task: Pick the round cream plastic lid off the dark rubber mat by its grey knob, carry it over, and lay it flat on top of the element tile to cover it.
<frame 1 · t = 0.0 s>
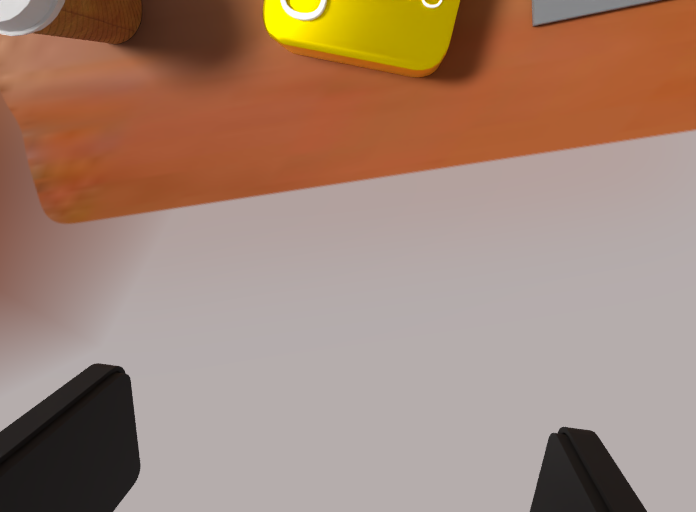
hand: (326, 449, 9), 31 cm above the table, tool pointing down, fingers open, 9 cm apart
disposable coffee cup: (111, 6, 37), on the table
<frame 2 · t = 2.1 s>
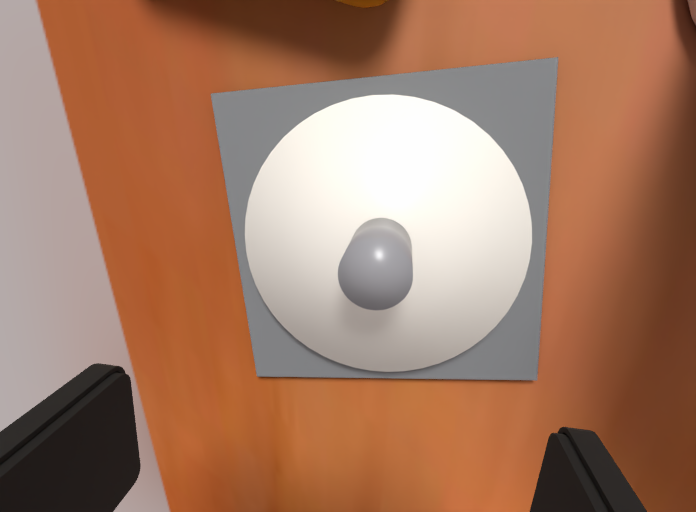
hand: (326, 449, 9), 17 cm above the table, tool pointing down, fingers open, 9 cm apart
mat: (382, 241, 25), on the table
lid: (378, 257, 22), on the mat
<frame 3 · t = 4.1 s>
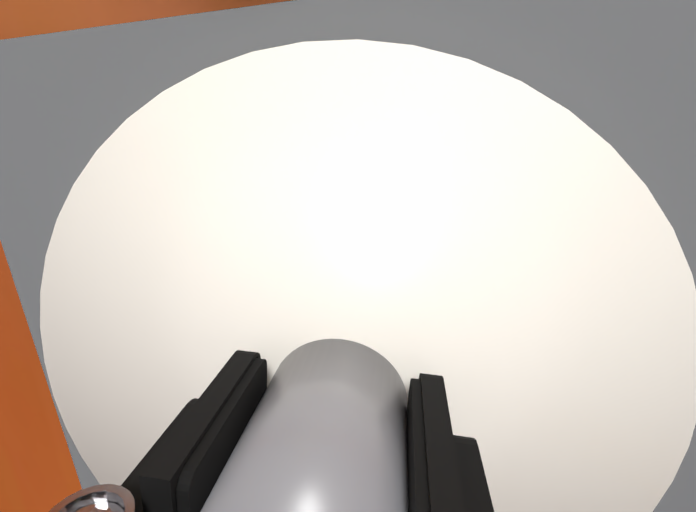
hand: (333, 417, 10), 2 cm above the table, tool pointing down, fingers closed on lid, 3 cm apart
mat: (344, 372, 12), on the table
lid: (323, 462, 8), on the mat, touching gripper
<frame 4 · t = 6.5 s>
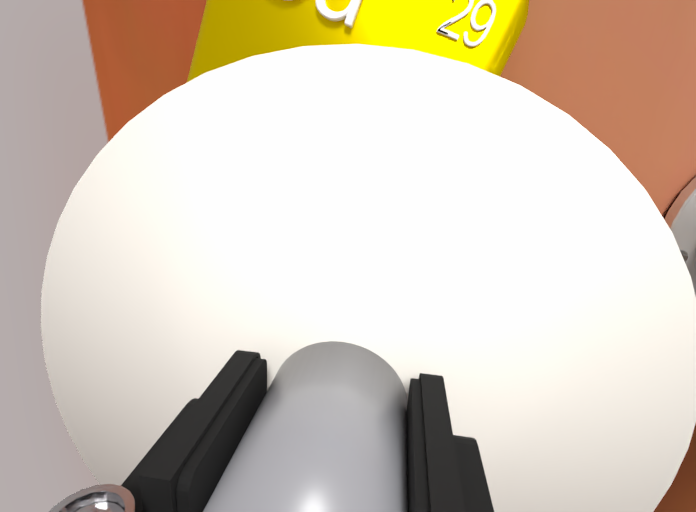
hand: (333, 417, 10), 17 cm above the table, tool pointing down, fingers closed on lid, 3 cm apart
element tile: (346, 90, 24), on the table
lid: (323, 465, 8), point 19 cm above the table, touching gripper
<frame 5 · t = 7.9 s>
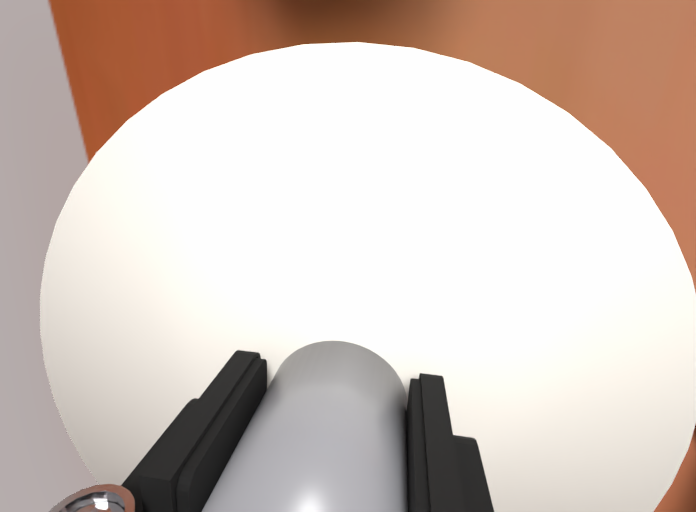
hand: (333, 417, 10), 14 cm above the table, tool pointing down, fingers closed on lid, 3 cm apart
lid: (322, 464, 8), point 15 cm above the table, touching gripper
when the fingers open (8 cm above the table, at t = 9.1 s): lid drops 2 cm, resting on element tile.
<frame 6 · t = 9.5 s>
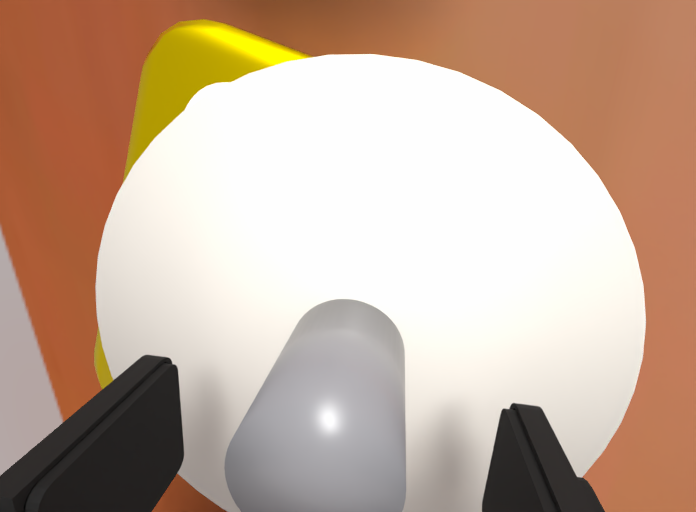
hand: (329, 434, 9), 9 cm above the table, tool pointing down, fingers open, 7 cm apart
element tile: (333, 267, 18), on the table, touching lid
lid: (336, 392, 11), point 7 cm above the table, touching element tile
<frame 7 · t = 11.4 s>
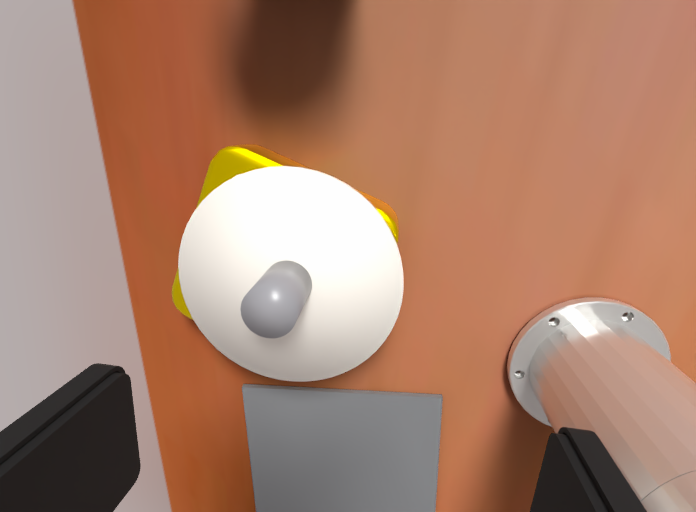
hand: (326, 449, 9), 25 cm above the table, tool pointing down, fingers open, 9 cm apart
element tile: (292, 252, 35), on the table, touching lid
mat: (342, 468, 41), on the table
lid: (280, 294, 28), point 7 cm above the table, touching element tile
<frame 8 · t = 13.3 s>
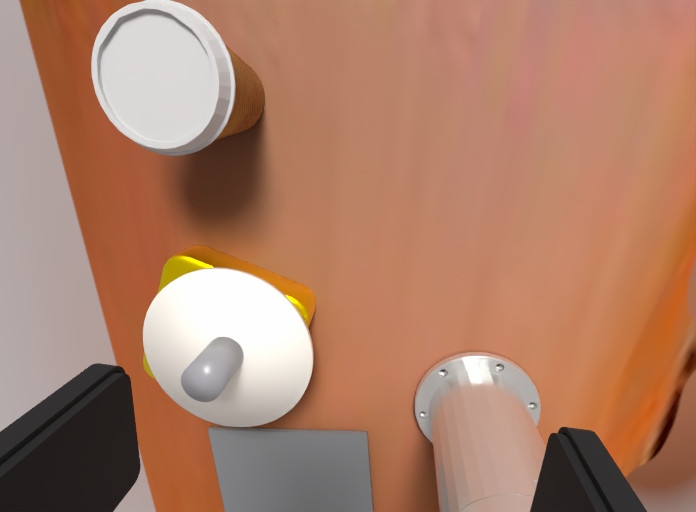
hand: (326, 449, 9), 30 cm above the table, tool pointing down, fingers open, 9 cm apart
element tile: (238, 323, 44), on the table, touching lid
mat: (295, 493, 49), on the table
disposable coffee cup: (232, 97, 37), on the table
lid: (216, 365, 36), point 7 cm above the table, touching element tile
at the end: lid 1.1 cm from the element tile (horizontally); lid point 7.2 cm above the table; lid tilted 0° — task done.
